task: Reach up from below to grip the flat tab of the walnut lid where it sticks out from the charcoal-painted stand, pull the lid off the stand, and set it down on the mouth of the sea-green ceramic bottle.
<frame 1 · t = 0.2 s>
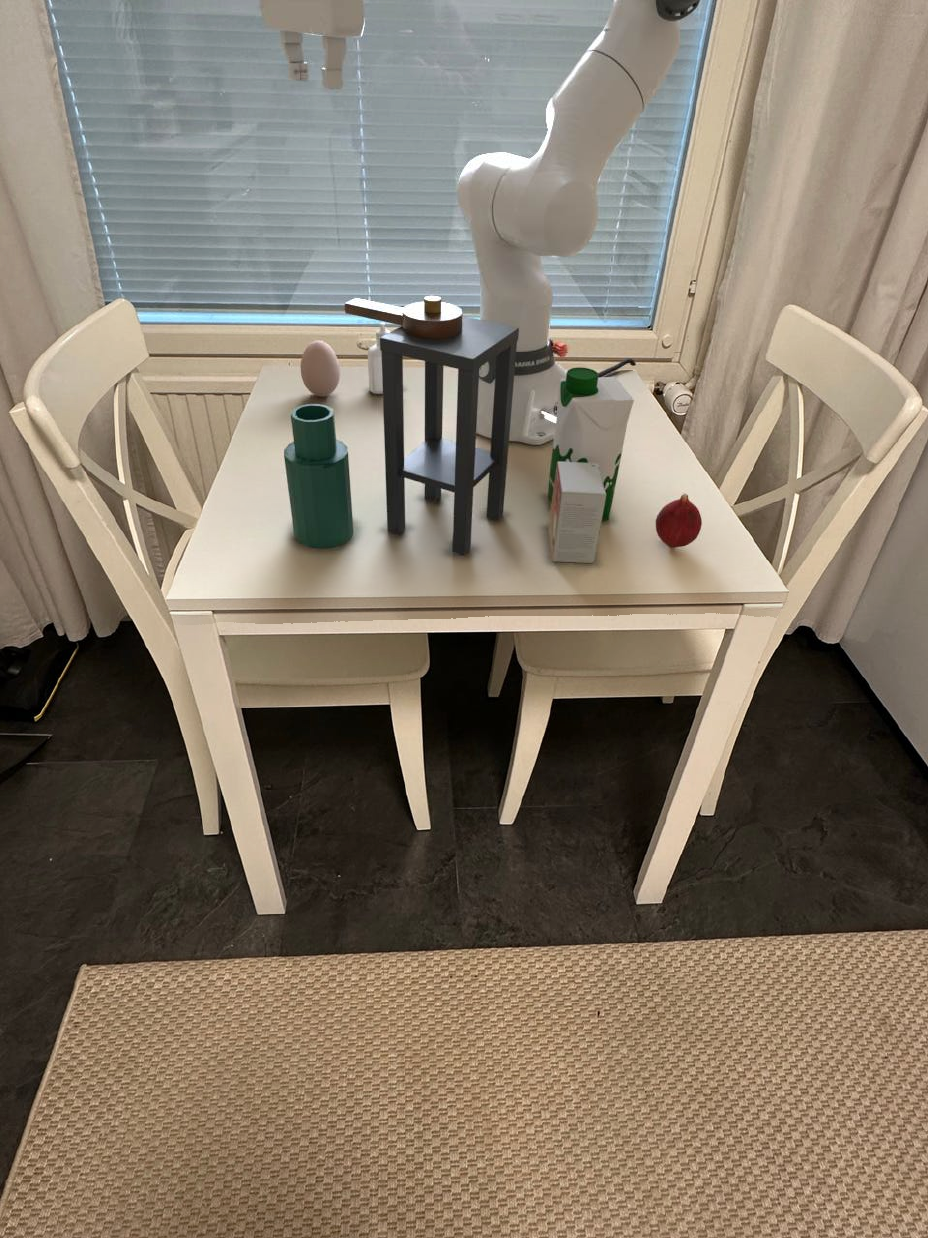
hand: (315, 84, 86), 48 cm above the table, tool pointing down, fingers open, 8 cm apart
onion: (672, 548, 102), on the table
milk carton: (577, 509, 109), on the table
bottle: (323, 532, 102), on the table
eye dropper bottle: (384, 391, 138), on the table
small box: (570, 547, 101), on the table
lid: (432, 328, 89), point 26 cm above the table, touching stand
egg: (322, 396, 136), on the table
stand: (446, 522, 104), on the table
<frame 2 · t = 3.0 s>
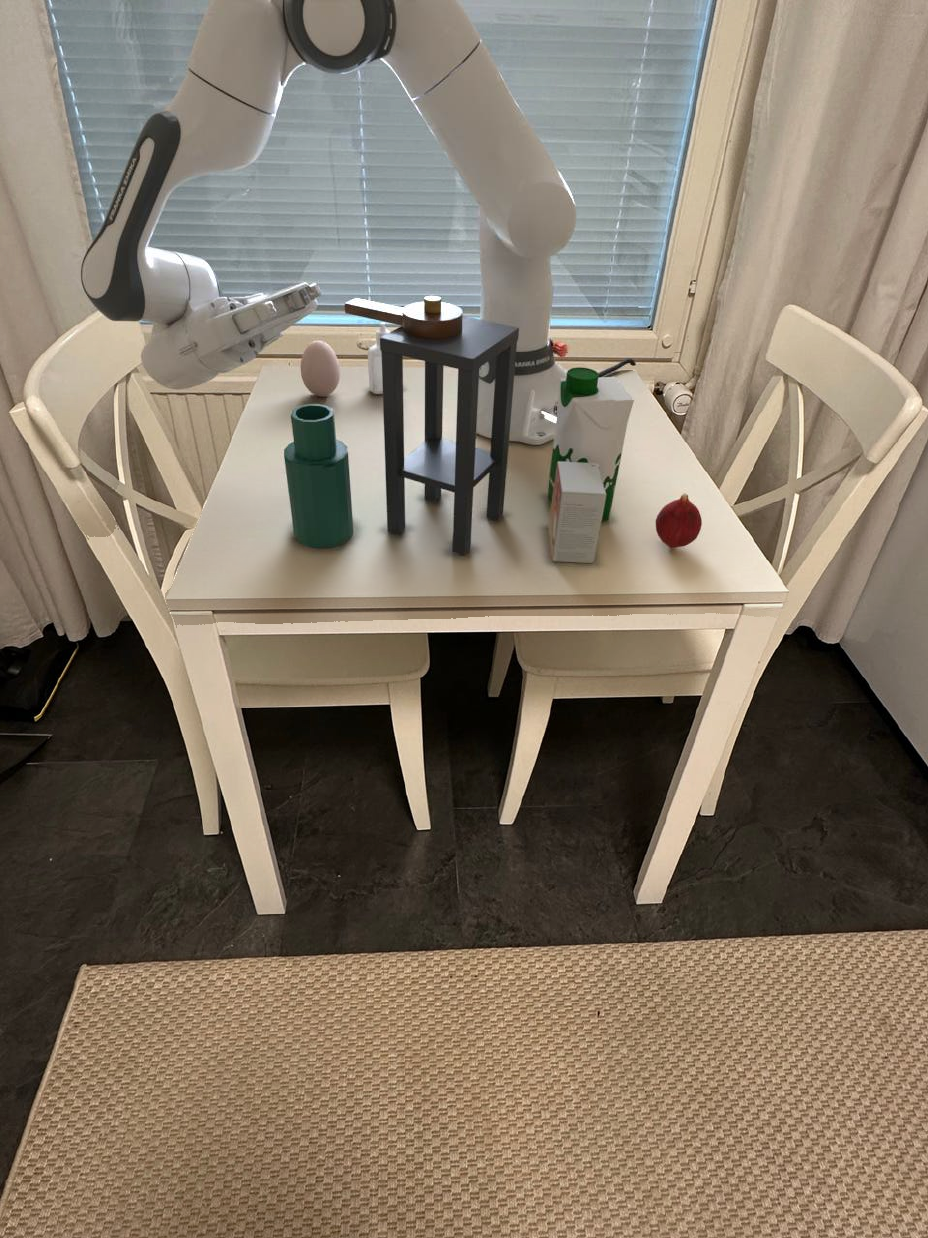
hand: (294, 298, 95), 26 cm above the table, tool pointing upward, fingers open, 8 cm apart
nothing on the table moved.
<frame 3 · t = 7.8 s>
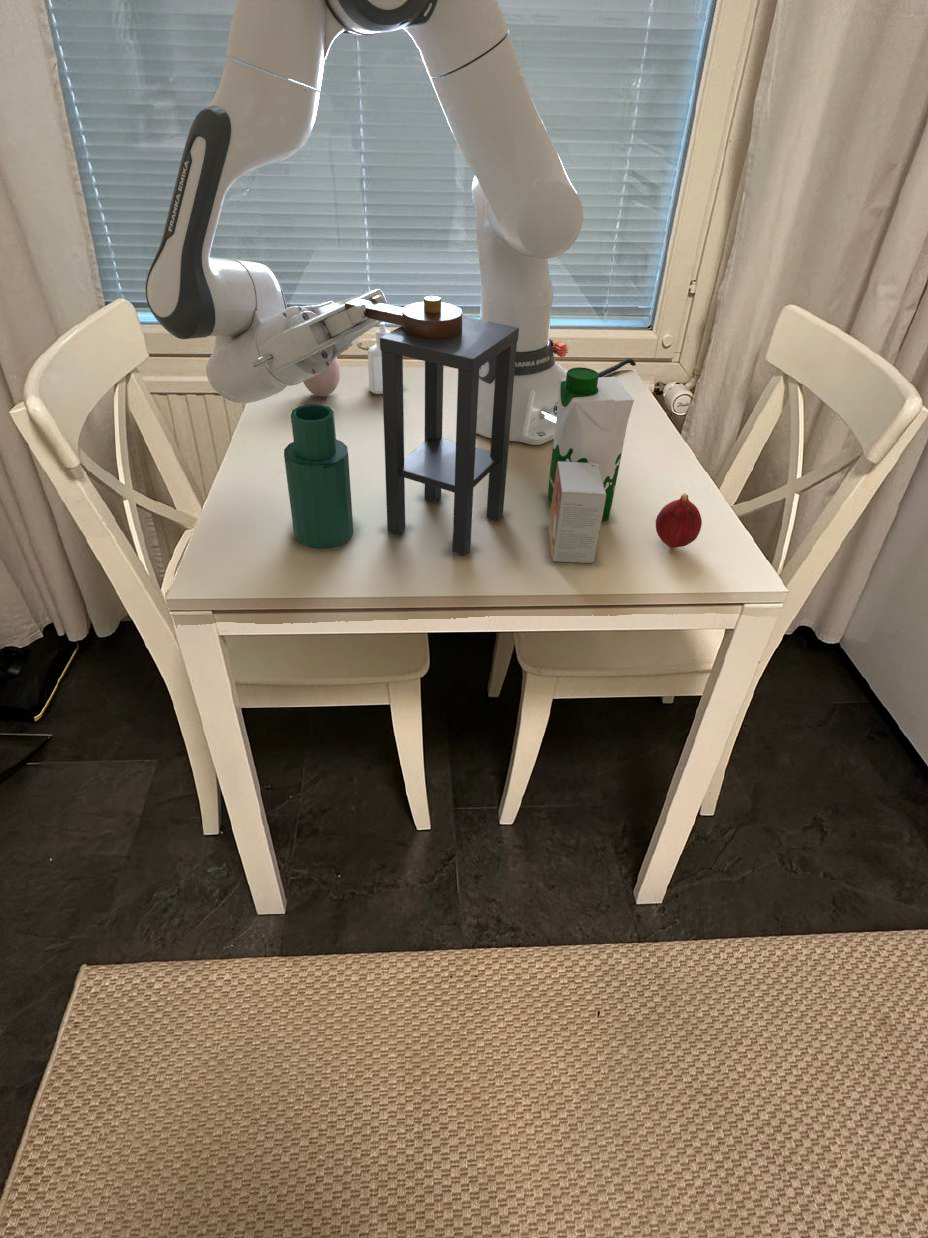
hand: (373, 306, 91), 27 cm above the table, tool pointing upward, fingers closed on lid, 2 cm apart
lid: (432, 328, 89), point 26 cm above the table, touching gripper, stand
everything else where it was.
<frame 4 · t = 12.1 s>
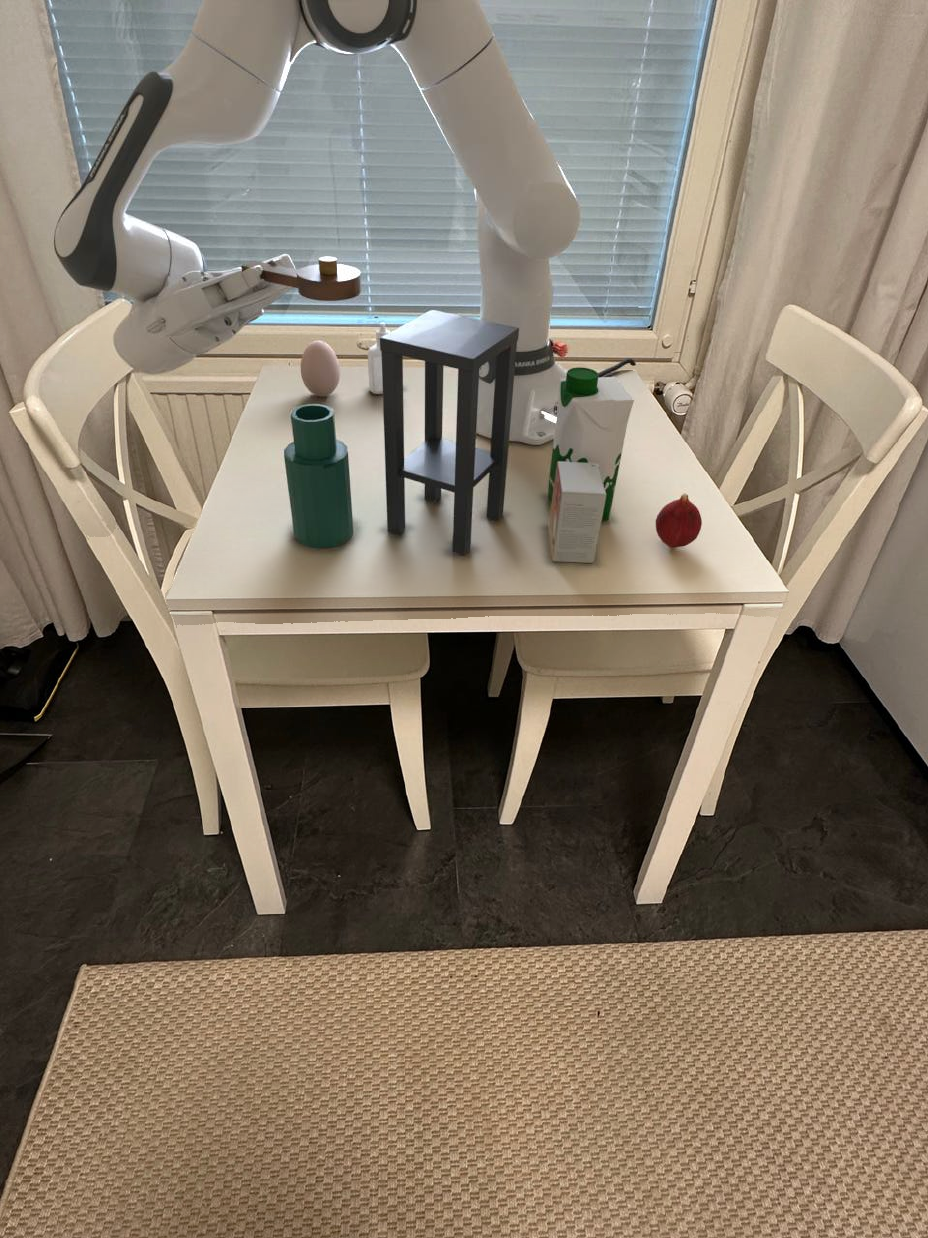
hand: (270, 268, 87), 31 cm above the table, tool pointing upward, fingers closed on lid, 2 cm apart
lid: (329, 291, 85), point 30 cm above the table, touching gripper
everything else where it was.
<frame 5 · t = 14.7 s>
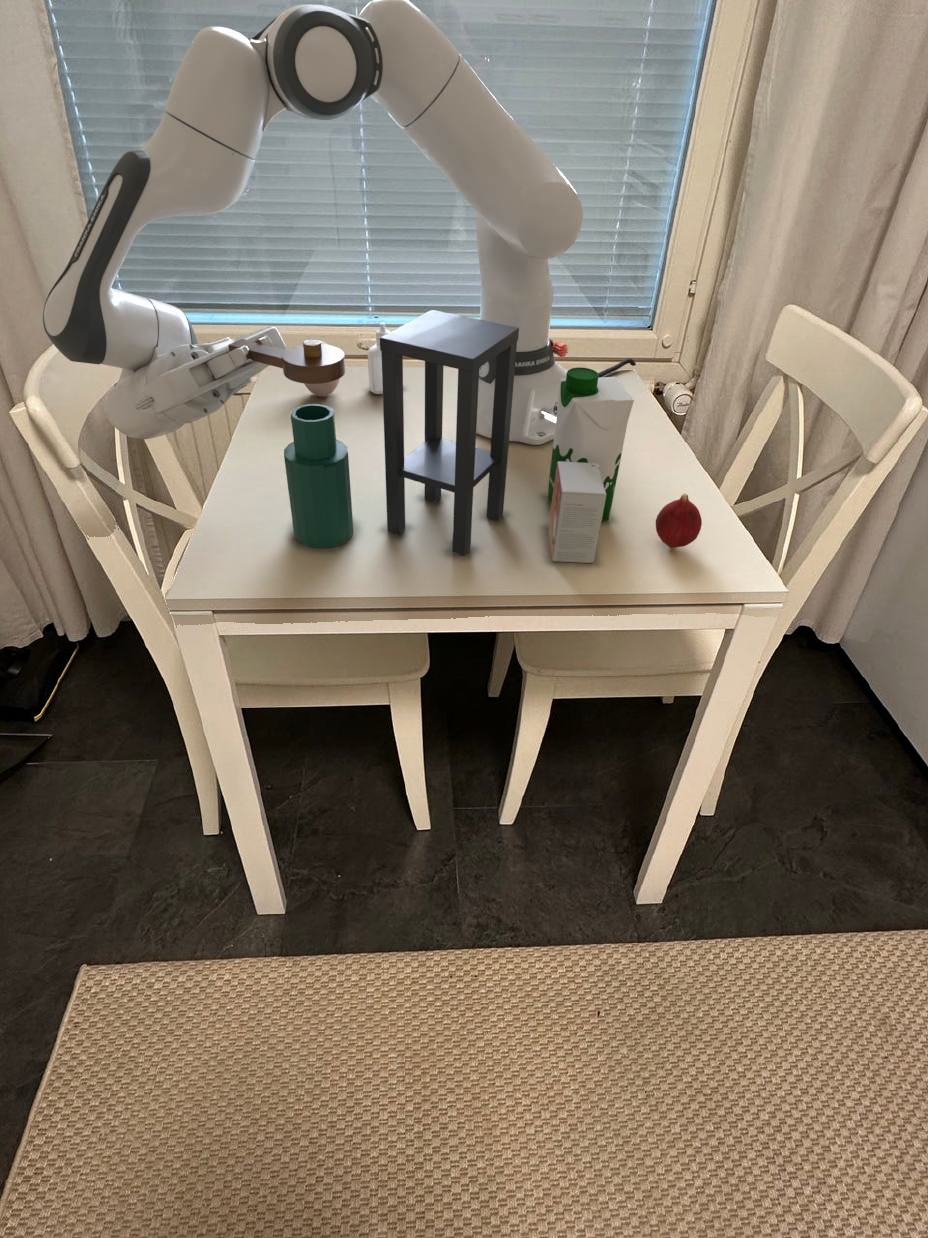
hand: (256, 348, 89), 23 cm above the table, tool pointing upward, fingers closed on lid, 2 cm apart
lid: (314, 371, 87), point 22 cm above the table, touching gripper
everything else where it was.
when the fingers open (18 cm above the table, at t = 16.5 s): lid stays where it is, resting on bottle.
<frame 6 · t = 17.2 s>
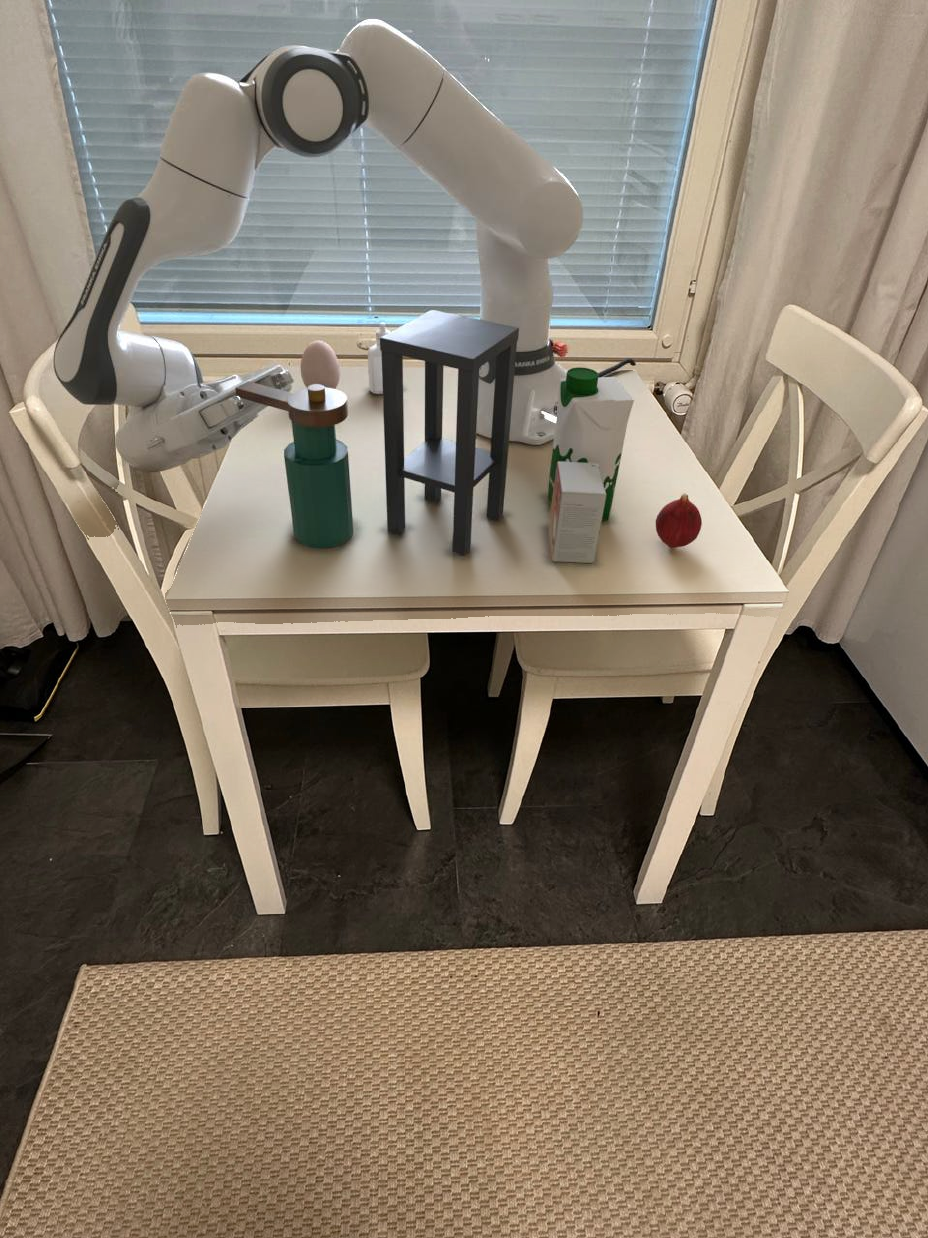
hand: (263, 389, 92), 18 cm above the table, tool pointing upward, fingers open, 8 cm apart
bottle: (323, 532, 102), on the table, touching lid
lid: (318, 414, 90), point 17 cm above the table, touching bottle
everything else where it was.
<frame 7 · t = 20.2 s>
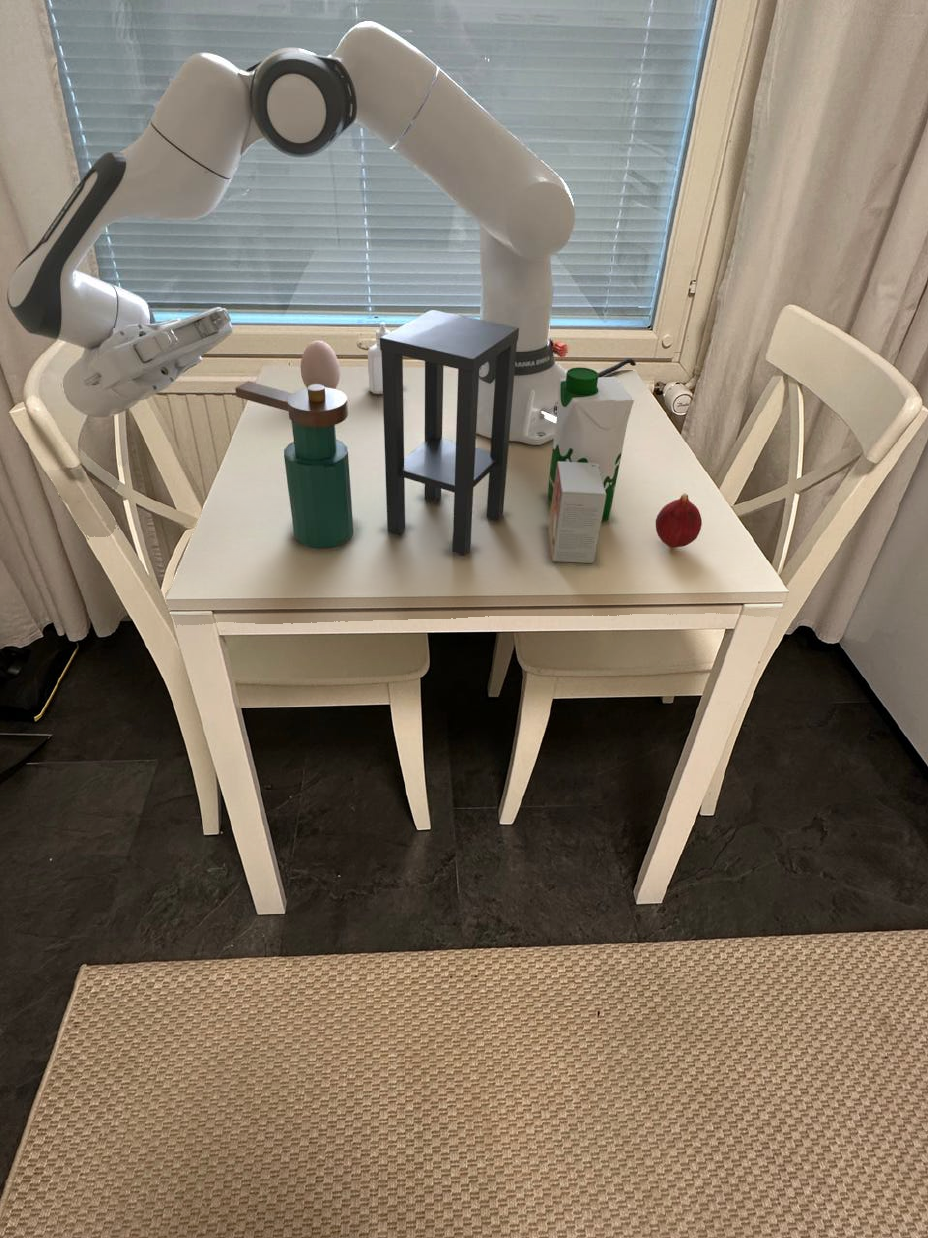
hand: (198, 325, 94), 23 cm above the table, tool pointing upward, fingers open, 8 cm apart
nothing on the table moved.
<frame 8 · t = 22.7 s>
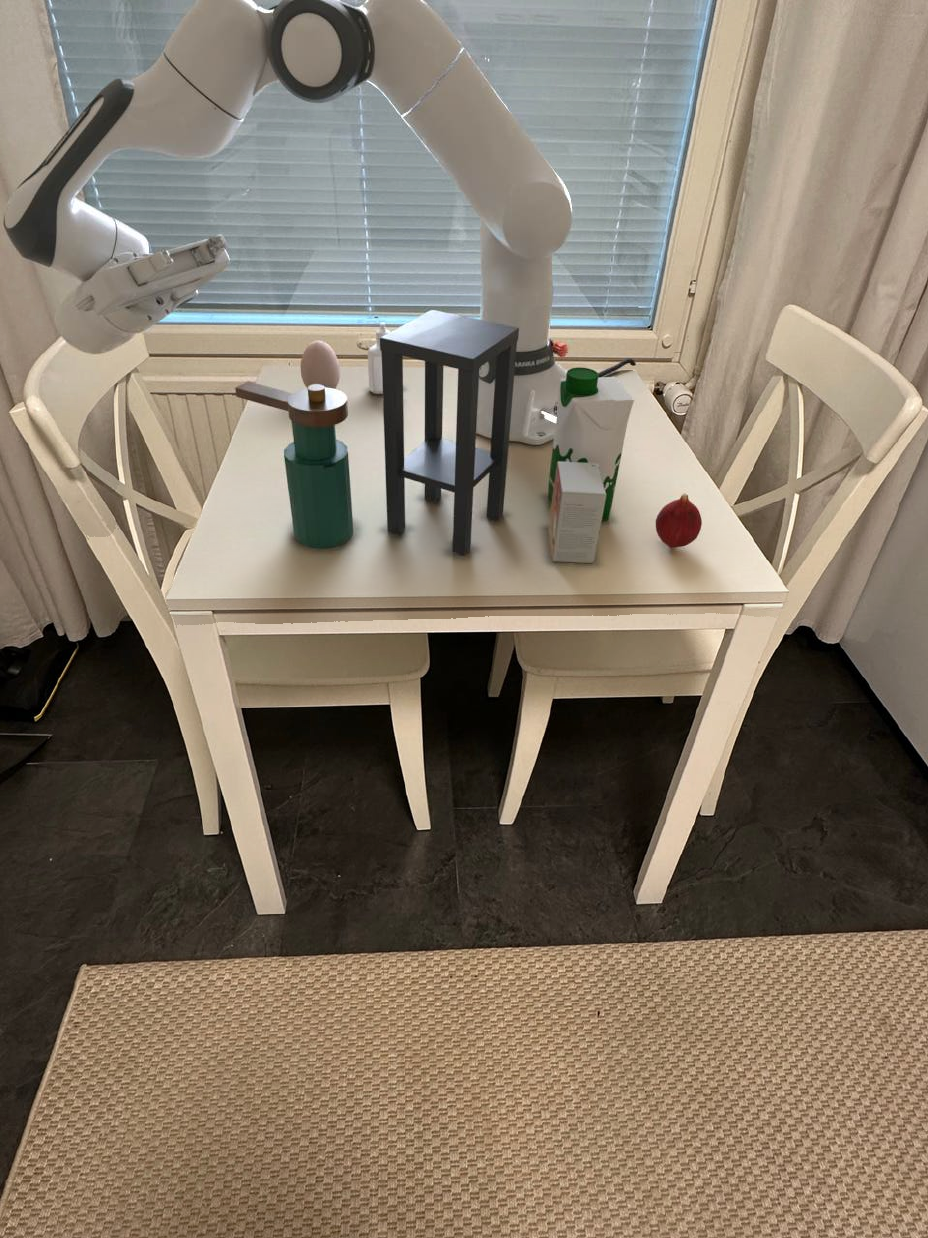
hand: (194, 248, 91), 31 cm above the table, tool pointing upward, fingers open, 8 cm apart
nothing on the table moved.
at the end: lid 1.0 cm off-centre on the bottle, point 17.0 cm above the bottle's base; lid tilted 0°; bottle tilted 0° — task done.
